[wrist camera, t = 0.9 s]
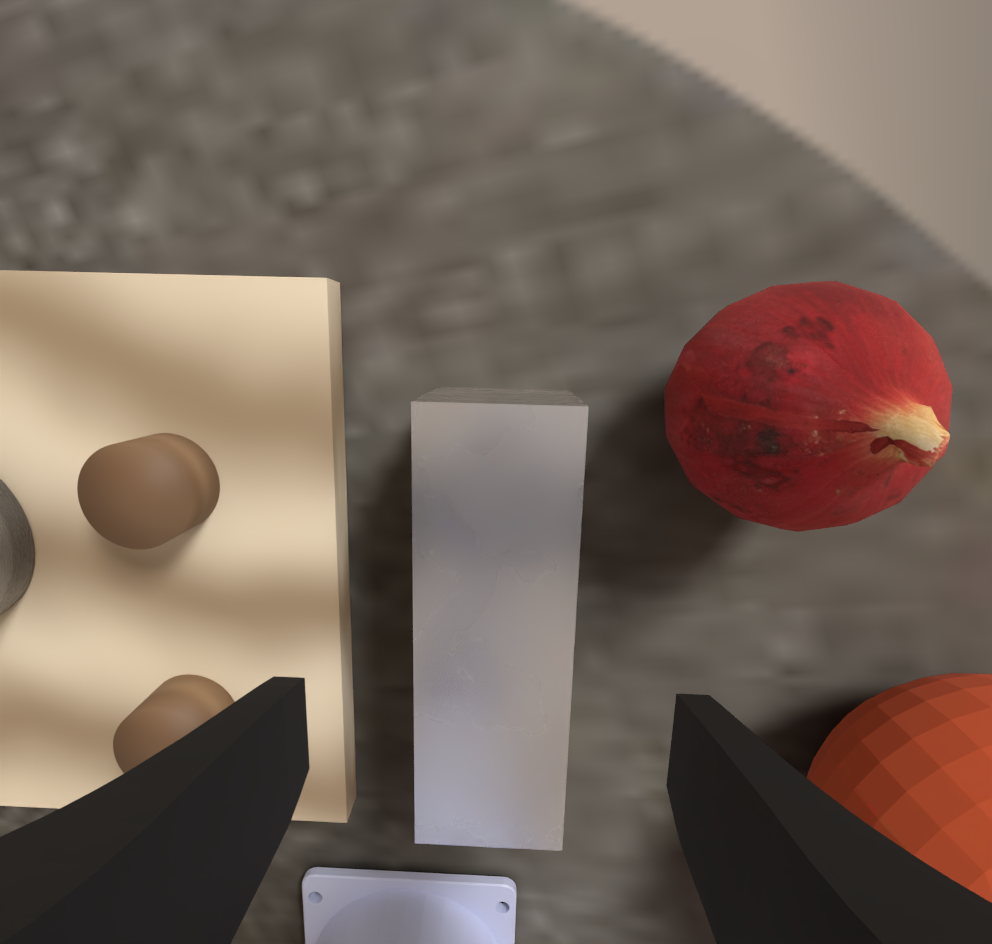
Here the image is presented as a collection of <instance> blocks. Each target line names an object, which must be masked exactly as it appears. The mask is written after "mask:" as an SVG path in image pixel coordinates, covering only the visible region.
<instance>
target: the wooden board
mask: <svg viewBox="0 0 992 944" xmlns="http://www.w3.org/2000/svg"><path fill="white" fill-rule="evenodd" d="M0 479H1V480H2V481H3V482H4V483H5V484H6V485H7V487H8V488H9V489H10V490H11V491H12V493H13V494H14V496H15V497H16V499H17V500H18V502H19V503H20V505H21V507H22V509H23V511H24V513H25V515H26V517H27V520H28V522H29V525H30V528H31V532H32V537H33V542H34V566H33V571H32V576H31V578H30V581H29V584H28V586H27V588H26V590H25V592H24V593H23V595H22V596H21V597H20V599H19V600H18V601H17V602H16V603H15V604H14V605H13V606H12V607H11V608H10V609H9V610H7V611H6V612H4V613H3V614H1V615H0V806H19V807H39V808H59V809H60V808H62V807H64V806H66V805H68V804H70V803H72V802H73V801H75V800H77V799H79V798H81V797H83V796H85V795H87V794H89V793H90V792H92V791H94V790H96V789H98V788H100V787H101V786H103V785H105V784H107V783H108V782H110V781H112V780H114V779H116V778H117V777H119V776H121V775H122V774H124V773H126V772H128V771H129V770H131V769H132V768H134V767H136V766H137V765H139V764H140V763H142V762H144V761H145V760H147V759H148V758H150V757H152V756H153V755H155V754H156V753H158V752H160V751H161V750H163V749H165V748H166V747H168V746H169V745H171V744H173V743H174V742H176V741H177V740H179V739H181V738H182V737H184V736H185V735H187V734H188V733H190V732H191V731H193V730H194V729H196V728H197V727H199V726H200V725H202V724H203V723H205V722H206V721H207V720H209V719H210V718H212V717H213V716H215V715H216V714H218V713H219V712H221V711H222V710H224V709H225V708H227V707H228V706H230V705H231V704H233V703H234V702H235V701H237V700H238V699H240V698H241V697H243V696H244V695H246V694H247V693H249V692H250V691H252V690H253V689H255V688H256V687H258V686H259V685H261V684H262V683H264V682H265V681H267V680H269V679H270V678H272V677H274V676H277V677H300V678H305V693H306V712H307V730H308V749H309V767H310V769H309V771H308V774H307V777H306V780H305V783H304V786H303V789H302V792H301V795H300V798H299V800H298V803H297V806H296V808H295V811H294V814H293V816H292V819H291V820H301V821H321V822H341V823H347V821H348V819H349V816H350V813H351V810H352V807H353V804H354V802H355V799H356V765H355V734H354V704H353V673H352V642H351V611H350V580H349V549H348V518H347V488H346V457H345V426H344V395H343V364H342V333H341V302H340V283H339V282H336V281H333V280H331V279H328V278H303V277H261V276H219V275H177V274H134V273H92V272H50V271H8V270H0Z"/></svg>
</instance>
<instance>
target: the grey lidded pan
mask: <svg viewBox="0 0 992 944" xmlns="http://www.w3.org/2000/svg"><path fill="white" fill-rule="evenodd" d="M33 566H34V542H33V537H32V532H31V528H30V525H29V522H28V520H27V517H26V515H25V513H24V511H23V509H22V507H21V505H20V503H19V502H18V500H17V499H16V497H15V496H14V494H13V493H12V491H11V490H10V489H9V488H8V487H7V485H6V484H5V483H4V482H3V481H2V480H1V479H0V615H1V614H3V613H4V612H6V611H7V610H9V609H10V608H11V607H12V606H13V605H14V604H15V603H16V602H17V601H18V600H19V599H20V597H21V596H22V595H23V593H24V592H25V590H26V588H27V586H28V584H29V581H30V578H31V576H32V571H33Z"/></svg>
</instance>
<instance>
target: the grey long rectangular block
mask: <svg viewBox="0 0 992 944" xmlns="http://www.w3.org/2000/svg"><path fill="white" fill-rule="evenodd" d="M588 407H589V406H587V405H586V404H585V403H584V402H583V401H581V400H580V399H579V398H578V397H576V396H575V395H574V394H573V393H571V392H570V391H569V390H534V389H496V388H459V387H438V388H436V389H434V390H433V391H431V392H429V393H427V394H425V395H423V396H421V397H419V398H417V399H415V400H413V401H411V443H412V563H413V684H414V804H415V843H419V844H439V845H458V846H478V847H498V848H518V849H537V850H557V851H562V843H563V826H564V809H565V792H566V776H567V759H568V742H569V725H570V709H571V692H572V675H573V658H574V642H575V625H576V608H577V591H578V575H579V558H580V541H581V524H582V507H583V491H584V474H585V457H586V440H587V424H588Z"/></svg>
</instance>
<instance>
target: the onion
mask: <svg viewBox="0 0 992 944" xmlns="http://www.w3.org/2000/svg"><path fill="white" fill-rule="evenodd" d="M951 396H952V385H951V382H950V380H949V377H948V375H947V372H946V370H945V367H944V364H943V362H942V359H941V357H940V354H939V352H938V349H937V346H936V344H935V342H934V341H933V339H932V337H931V336H930V335H929V334H928V333H927V332H926V331H925V330H924V329H923V328H922V327H921V326H920V325H919V324H918V323H917V322H916V321H915V320H914V319H913V318H912V317H911V316H910V315H909V314H908V313H907V312H906V311H905V310H904V309H903V308H902V307H901V306H900V305H899V304H898V303H897V302H896V301H894V300H891V299H889V298H887V297H884V296H882V295H879V294H875V293H872V292H869V291H866V290H862V289H859V288H856V287H853V286H850V285H846V284H843V283H840V282H837V281H826V282H810V283H799V284H788V285H778V286H771V287H769V288H767V289H764V290H762V291H760V292H758V293H755V294H753V295H751V296H749V297H746V298H744V299H742V300H740V301H737V302H735V303H733V304H731V305H728V306H727V307H725V308H724V309H722V310H721V311H719V312H718V313H717V314H716V315H715V316H714V317H713V318H712V319H711V320H710V321H709V322H708V323H707V324H706V325H705V326H704V327H703V328H702V329H701V330H700V331H699V332H698V333H697V334H696V335H695V336H694V337H693V338H692V339H691V340H690V341H689V342H688V343H686V344H685V346H684V348H683V350H682V352H681V354H680V357H679V359H678V361H677V363H676V365H675V367H674V370H673V372H672V374H671V376H670V378H669V380H668V382H667V385H666V387H665V435H666V437H667V439H668V441H669V443H670V445H671V447H672V449H673V451H674V453H675V455H676V457H677V459H678V461H679V463H680V465H681V466H682V468H683V470H684V472H685V474H686V476H687V478H688V480H689V482H690V484H691V485H692V486H694V487H695V488H696V489H698V490H699V491H701V492H702V493H703V494H705V495H706V496H708V497H709V498H710V499H712V500H713V501H715V502H716V503H717V504H719V505H720V506H722V507H723V508H724V509H726V510H727V511H729V512H731V513H732V514H734V515H735V516H737V517H738V518H741V519H745V520H749V521H753V522H756V523H760V524H764V525H768V526H772V527H776V528H780V529H785V530H791V531H806V530H814V529H821V528H829V527H836V526H844V525H848V524H852V523H855V522H858V521H860V520H863V519H865V518H867V517H869V516H871V515H873V514H876V513H878V512H880V511H882V510H884V509H886V508H889V507H891V506H893V505H895V504H897V503H900V502H901V501H902V500H903V499H904V498H905V496H906V495H907V494H908V493H909V492H910V491H911V490H912V489H913V488H914V487H915V486H916V485H917V483H918V482H919V481H920V480H921V479H922V478H923V477H924V476H925V475H926V474H927V473H928V472H929V470H930V469H931V468H932V467H933V465H934V464H935V463H936V462H937V461H938V460H939V459H940V458H941V457H942V456H943V455H944V453H945V451H946V448H947V446H948V442H949V438H950V434H949V433H948V430H949V422H950V409H951Z"/></svg>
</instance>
